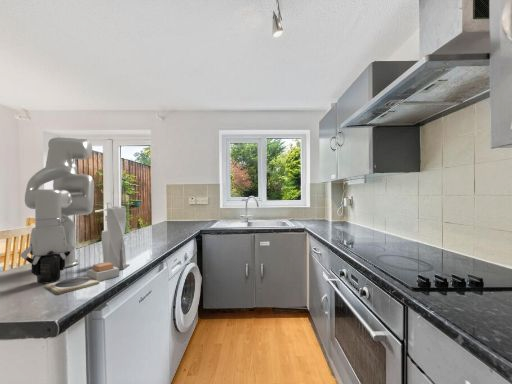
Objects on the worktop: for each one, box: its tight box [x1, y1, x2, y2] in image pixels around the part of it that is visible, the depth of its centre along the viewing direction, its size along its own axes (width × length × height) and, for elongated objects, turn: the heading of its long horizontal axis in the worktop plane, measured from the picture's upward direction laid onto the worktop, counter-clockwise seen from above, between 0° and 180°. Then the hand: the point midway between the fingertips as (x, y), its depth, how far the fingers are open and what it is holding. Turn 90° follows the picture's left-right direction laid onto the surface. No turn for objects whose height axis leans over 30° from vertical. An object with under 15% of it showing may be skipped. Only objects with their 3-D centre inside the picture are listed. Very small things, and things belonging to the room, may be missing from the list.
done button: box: [92, 262, 113, 272], centre depth 100 cm, size 5×5×2 cm
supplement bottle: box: [36, 251, 61, 285], centre depth 96 cm, size 7×7×12 cm
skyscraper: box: [106, 202, 130, 271], centre depth 113 cm, size 8×8×28 cm
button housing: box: [86, 266, 120, 282], centre depth 100 cm, size 8×8×3 cm
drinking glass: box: [101, 229, 110, 263], centre depth 121 cm, size 7×7×15 cm
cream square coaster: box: [44, 275, 100, 295], centre depth 91 cm, size 12×12×1 cm
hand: (48, 271), depth 96 cm, fingers closed on supplement bottle, 6 cm apart
